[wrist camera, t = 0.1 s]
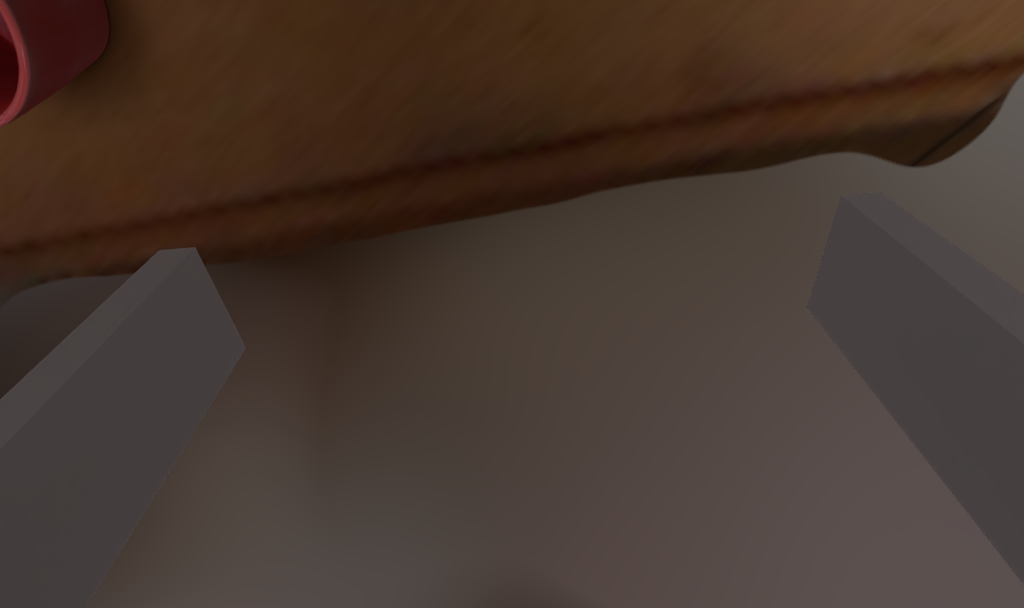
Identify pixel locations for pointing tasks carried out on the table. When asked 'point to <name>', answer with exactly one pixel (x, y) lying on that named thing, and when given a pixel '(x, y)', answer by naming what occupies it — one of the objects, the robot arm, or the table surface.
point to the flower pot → (46, 48)
